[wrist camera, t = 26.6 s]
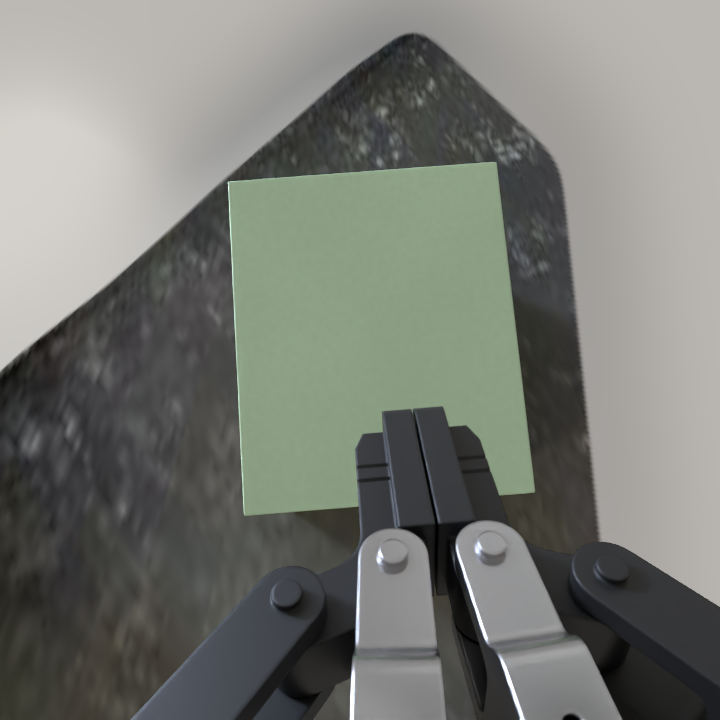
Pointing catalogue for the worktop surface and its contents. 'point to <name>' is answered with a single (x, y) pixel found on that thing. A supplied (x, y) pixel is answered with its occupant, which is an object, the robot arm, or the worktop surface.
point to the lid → (370, 324)
